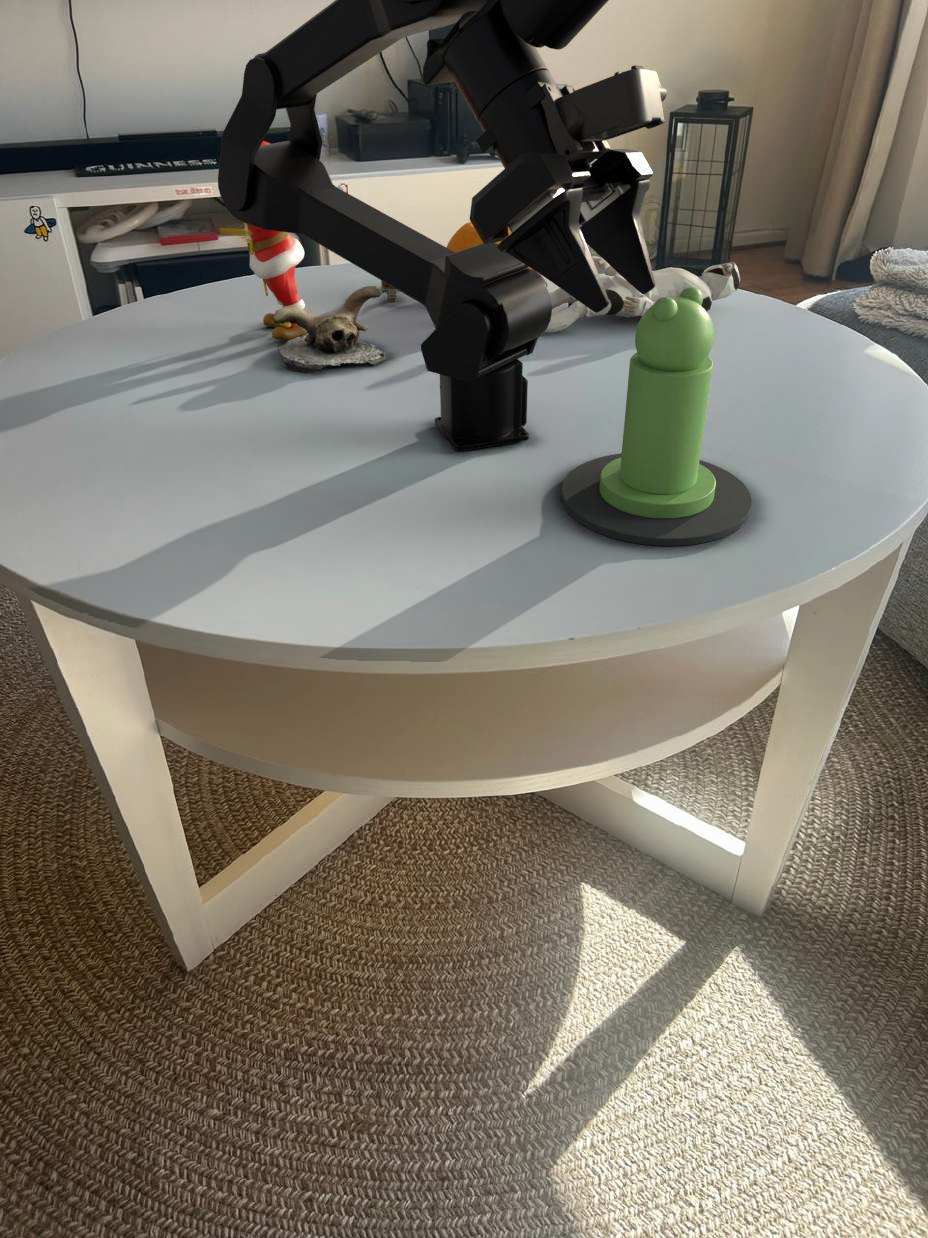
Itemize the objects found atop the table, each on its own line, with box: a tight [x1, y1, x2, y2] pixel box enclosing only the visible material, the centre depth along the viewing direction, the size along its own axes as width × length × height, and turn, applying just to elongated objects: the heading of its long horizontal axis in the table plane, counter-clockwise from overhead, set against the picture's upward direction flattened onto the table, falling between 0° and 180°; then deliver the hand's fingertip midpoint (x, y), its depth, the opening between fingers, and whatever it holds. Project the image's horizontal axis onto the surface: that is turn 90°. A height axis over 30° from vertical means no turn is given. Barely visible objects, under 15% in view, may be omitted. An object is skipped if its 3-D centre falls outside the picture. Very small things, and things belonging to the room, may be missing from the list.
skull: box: [273, 285, 387, 374], centre depth 96 cm, size 10×12×6 cm
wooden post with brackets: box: [380, 280, 397, 303], centre depth 113 cm, size 2×8×4 cm, turn 8°
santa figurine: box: [243, 140, 308, 342], centre depth 98 cm, size 25×6×19 cm, turn 20°
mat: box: [560, 452, 753, 547], centre depth 70 cm, size 14×14×1 cm
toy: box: [599, 287, 716, 519], centre depth 66 cm, size 8×8×15 cm
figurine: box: [543, 255, 741, 334], centre depth 104 cm, size 13×6×30 cm
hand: (627, 299), depth 66 cm, fingers open, 9 cm apart
